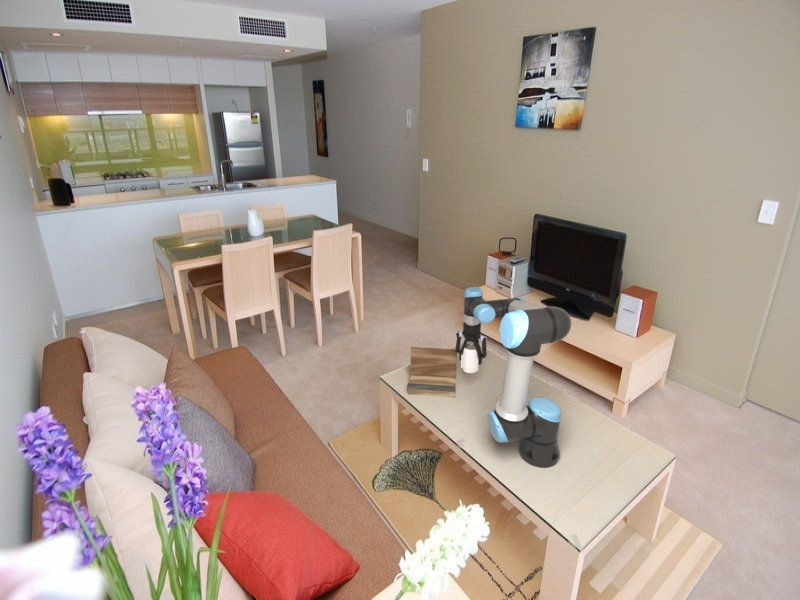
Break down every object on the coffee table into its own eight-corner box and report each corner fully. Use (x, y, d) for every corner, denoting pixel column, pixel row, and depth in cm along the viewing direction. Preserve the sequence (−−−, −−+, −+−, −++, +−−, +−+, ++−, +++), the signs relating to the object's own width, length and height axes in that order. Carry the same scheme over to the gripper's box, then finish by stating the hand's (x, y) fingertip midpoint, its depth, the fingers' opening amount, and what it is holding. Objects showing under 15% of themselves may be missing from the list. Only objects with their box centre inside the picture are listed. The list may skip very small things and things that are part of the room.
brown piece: (455, 397, 214) (456, 363, 207) (408, 394, 217) (407, 361, 210) (455, 381, 226) (457, 349, 219) (411, 378, 229) (410, 346, 222)
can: (477, 374, 207) (479, 350, 202) (463, 373, 207) (464, 350, 202) (476, 366, 213) (477, 343, 208) (462, 366, 213) (463, 343, 208)
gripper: (496, 322, 200) (493, 368, 208) (454, 315, 208) (452, 360, 216) (491, 329, 193) (488, 377, 202) (448, 321, 201) (447, 367, 210)
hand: (470, 368), depth 209 cm, fingers closed on can, 6 cm apart
